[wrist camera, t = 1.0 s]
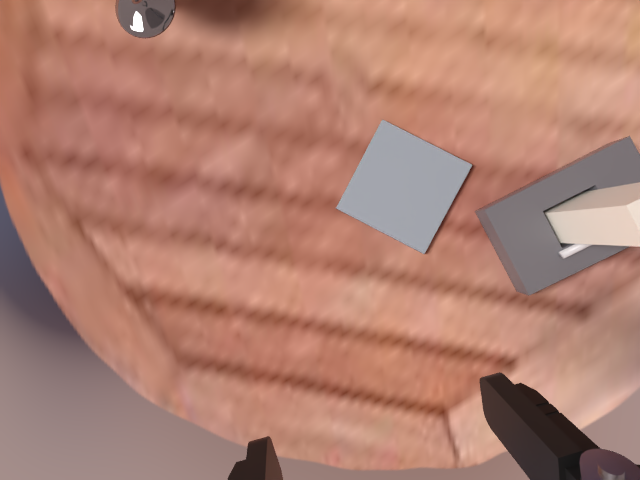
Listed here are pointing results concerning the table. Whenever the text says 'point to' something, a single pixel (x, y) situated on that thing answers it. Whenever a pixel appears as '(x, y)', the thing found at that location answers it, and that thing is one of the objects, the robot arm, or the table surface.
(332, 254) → the table surface
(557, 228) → the tall cream pillar
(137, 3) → the wine glass
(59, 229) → the table surface
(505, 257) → the gray slotted base
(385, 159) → the mat
